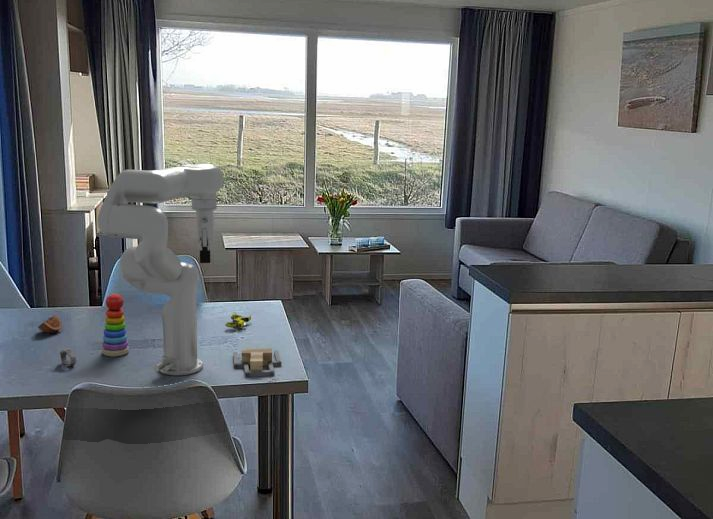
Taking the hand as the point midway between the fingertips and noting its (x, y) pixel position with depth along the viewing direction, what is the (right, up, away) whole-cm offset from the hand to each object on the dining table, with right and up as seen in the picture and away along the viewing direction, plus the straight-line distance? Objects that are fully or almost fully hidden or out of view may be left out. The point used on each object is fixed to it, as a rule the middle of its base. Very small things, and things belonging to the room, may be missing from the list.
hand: (205, 262), depth 215 cm
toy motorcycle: (+6, -23, +25) cm, 34 cm away
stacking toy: (-27, -28, -4) cm, 39 cm away
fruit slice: (-54, -23, +13) cm, 60 cm away
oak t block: (+18, -31, -12) cm, 38 cm away
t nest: (+18, -31, -11) cm, 37 cm away
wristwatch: (-37, -30, -14) cm, 50 cm away
